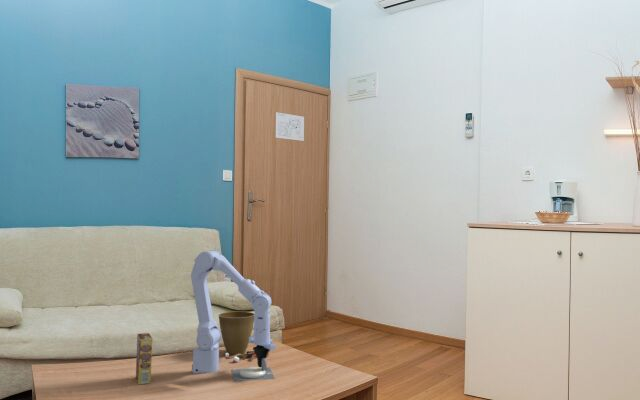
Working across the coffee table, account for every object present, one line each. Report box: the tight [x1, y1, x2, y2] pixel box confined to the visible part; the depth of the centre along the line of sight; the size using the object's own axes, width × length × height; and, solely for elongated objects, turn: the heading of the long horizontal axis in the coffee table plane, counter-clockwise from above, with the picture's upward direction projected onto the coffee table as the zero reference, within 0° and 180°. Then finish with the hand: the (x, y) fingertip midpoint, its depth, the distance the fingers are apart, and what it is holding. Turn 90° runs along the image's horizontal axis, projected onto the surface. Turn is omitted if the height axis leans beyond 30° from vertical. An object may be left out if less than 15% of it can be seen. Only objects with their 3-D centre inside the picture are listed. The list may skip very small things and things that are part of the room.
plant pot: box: [218, 310, 255, 356], centre depth 209 cm, size 15×15×16 cm
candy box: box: [135, 332, 153, 385], centre depth 174 cm, size 9×4×15 cm, turn 26°
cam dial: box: [240, 357, 268, 378], centre depth 178 cm, size 9×9×5 cm
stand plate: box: [231, 367, 276, 383], centre depth 178 cm, size 14×13×1 cm
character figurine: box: [225, 350, 271, 364], centre depth 200 cm, size 10×18×4 cm, turn 125°
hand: (261, 366), depth 181 cm, fingers closed
